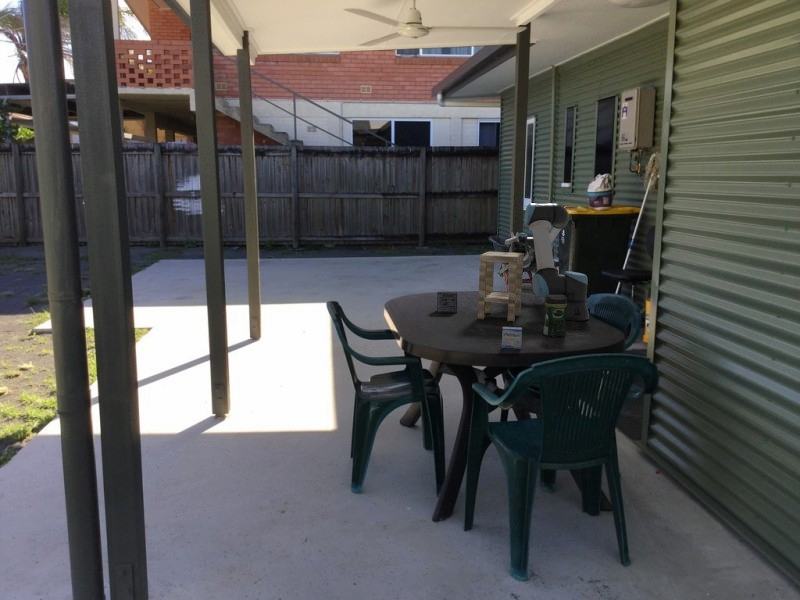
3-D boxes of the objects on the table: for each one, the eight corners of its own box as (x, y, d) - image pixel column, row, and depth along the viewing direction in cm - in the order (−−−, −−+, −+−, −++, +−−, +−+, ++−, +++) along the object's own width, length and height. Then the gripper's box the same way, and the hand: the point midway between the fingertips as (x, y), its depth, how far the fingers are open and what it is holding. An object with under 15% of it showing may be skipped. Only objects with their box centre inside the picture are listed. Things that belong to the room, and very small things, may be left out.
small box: (457, 310, 351) (457, 291, 349) (457, 313, 345) (457, 293, 343) (437, 310, 352) (437, 290, 350) (436, 312, 346) (437, 292, 344)
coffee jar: (561, 333, 304) (563, 293, 301) (567, 337, 296) (570, 296, 293) (540, 333, 303) (543, 293, 300) (546, 337, 295) (548, 296, 292)
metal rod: (515, 240, 364) (515, 236, 364) (518, 240, 364) (518, 236, 363) (504, 244, 340) (504, 240, 340) (508, 244, 340) (508, 240, 339)
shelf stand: (486, 312, 349) (488, 251, 343) (520, 315, 343) (523, 253, 337) (477, 318, 332) (480, 255, 327) (513, 321, 326) (516, 257, 320)
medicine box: (501, 349, 275) (502, 328, 273) (501, 346, 279) (502, 326, 278) (521, 350, 274) (522, 329, 272) (520, 347, 278) (521, 327, 276)
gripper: (533, 259, 373) (527, 241, 352) (506, 257, 378) (499, 240, 358) (535, 246, 375) (529, 228, 354) (508, 245, 381) (501, 227, 360)
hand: (514, 234), depth 356 cm, fingers closed on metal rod, 2 cm apart
